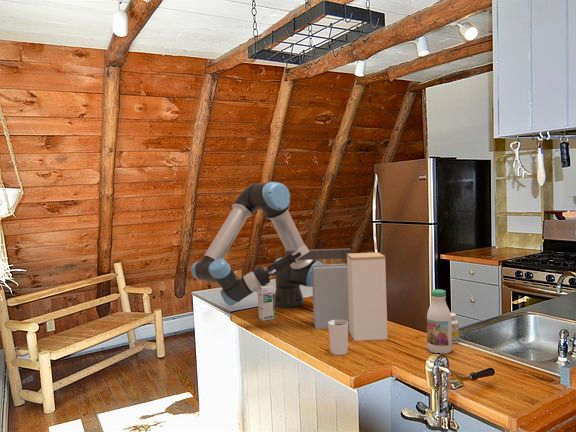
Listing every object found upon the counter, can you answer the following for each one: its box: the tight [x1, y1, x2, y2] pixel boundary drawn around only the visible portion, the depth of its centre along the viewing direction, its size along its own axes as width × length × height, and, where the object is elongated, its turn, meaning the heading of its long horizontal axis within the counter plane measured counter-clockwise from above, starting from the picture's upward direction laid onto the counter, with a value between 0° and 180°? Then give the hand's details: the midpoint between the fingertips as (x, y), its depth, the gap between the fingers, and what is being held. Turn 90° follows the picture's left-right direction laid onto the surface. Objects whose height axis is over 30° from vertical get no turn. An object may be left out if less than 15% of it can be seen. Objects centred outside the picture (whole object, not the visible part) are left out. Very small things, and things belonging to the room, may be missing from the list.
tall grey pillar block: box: [311, 263, 349, 330], centre depth 182 cm, size 9×14×24 cm, turn 92°
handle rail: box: [285, 247, 352, 260], centre depth 181 cm, size 4×26×4 cm, turn 92°
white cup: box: [328, 320, 349, 356], centre depth 151 cm, size 7×7×10 cm
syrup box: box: [257, 283, 276, 322], centre depth 195 cm, size 6×6×14 cm
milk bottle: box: [426, 288, 453, 355], centre depth 149 cm, size 8×8×20 cm
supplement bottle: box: [450, 312, 459, 344], centre depth 158 cm, size 5×5×10 cm
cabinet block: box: [346, 251, 389, 342], centre depth 167 cm, size 11×12×30 cm
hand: (307, 248), depth 181 cm, fingers closed on handle rail, 3 cm apart
